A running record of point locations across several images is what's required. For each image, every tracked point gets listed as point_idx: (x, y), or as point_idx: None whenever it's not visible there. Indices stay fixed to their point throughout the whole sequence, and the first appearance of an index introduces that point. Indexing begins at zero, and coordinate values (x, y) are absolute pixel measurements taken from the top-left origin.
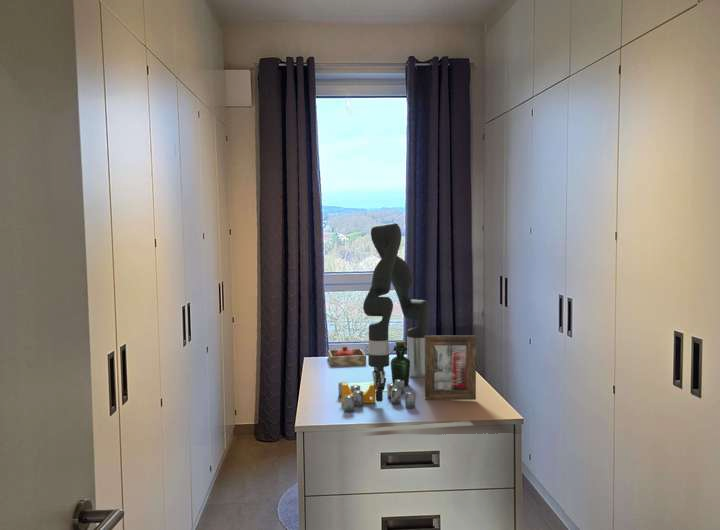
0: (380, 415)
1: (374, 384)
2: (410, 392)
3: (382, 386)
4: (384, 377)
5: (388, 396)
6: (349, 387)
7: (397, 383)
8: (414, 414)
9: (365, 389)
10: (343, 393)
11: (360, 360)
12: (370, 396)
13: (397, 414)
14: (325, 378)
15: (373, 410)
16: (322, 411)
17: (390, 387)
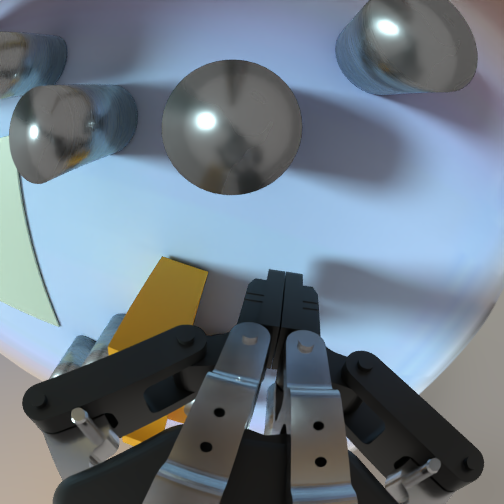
0: (424, 302)
1: (193, 395)
2: (409, 16)
3: (354, 391)
4: (349, 479)
5: (112, 153)
6: (4, 291)
7: (3, 80)
8: (496, 123)
9: (6, 243)
10: (168, 417)
11: None
12: (191, 324)
13: (462, 214)
14: None
15: (338, 314)
16: (260, 433)
17: (75, 154)
